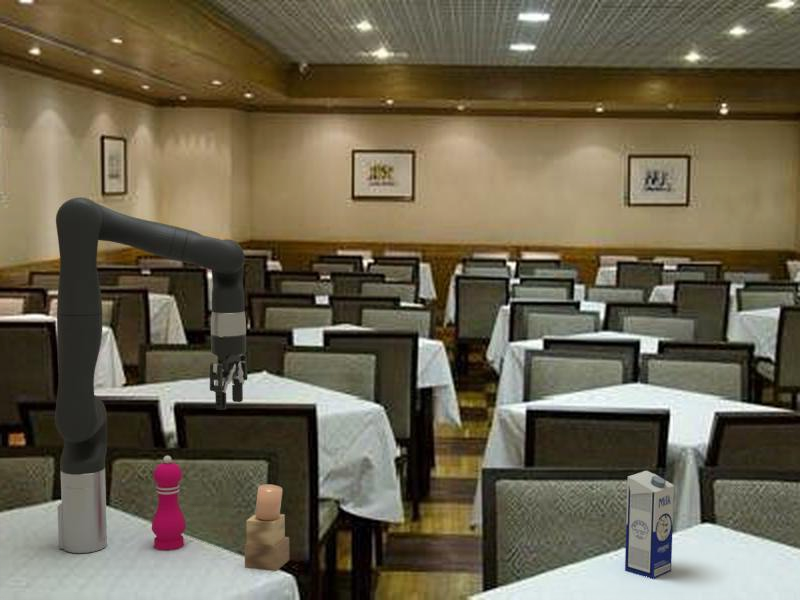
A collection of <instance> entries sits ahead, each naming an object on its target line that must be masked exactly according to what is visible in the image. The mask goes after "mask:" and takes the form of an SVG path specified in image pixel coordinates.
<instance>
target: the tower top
mask: <svg viewBox="0 0 800 600" xmlns="http://www.w3.org/2000/svg"><path fill="white" fill-rule="evenodd" d="M285 518H286V517H285V514H284V513H280V516H279V519H277V520H262V519H259V518H257V517H256V516H255V514H253V515H252V516H250V517H249V518H248V519H246V521H245V522H246V525H245V526H246V543H247V544H251V545H261V546H270V547H274V546H275V545H277V544H278V543H279V542H280V541H281V540H283V539H284V538H285V537H286V533H285V532H286V522H285V521H286V519H285Z"/></svg>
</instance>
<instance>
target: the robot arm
mask: <svg viewBox="0 0 800 600" xmlns="http://www.w3.org/2000/svg"><path fill="white" fill-rule="evenodd" d="M55 224H56V225H55V226H56V234H57V241H58V252H59V277H58V278H59V279H58V288H57V301H56V302H57V304H56V305H57V306H56V331H57V332H56V334H57V362H58V363H57V365H58V385H57V396H56V406H55V413H54V414H55V415H54V423H55V427H56V429H57V433H58V434H59V435H60V436H61V438H63V442H64V443H63V449H62V453H61V456H60V461H59V464H60V466H59V468H60V492H61V493H60V495H61V503H60V504H58V505H57V529H58V533H57V534H58V549H61V550H64V551H65V552H68V553H74V554H85V553H86V554H88V553H94V552H98V551H100V550H102V549H105V547H107V545H108V543H107V542H108V540H107V539H108V533H107V531H108V530H107V529H108V527H107V525H108V524H107V498H106V497H107V493H106V491H107V487H106V456H107V450H108V415H107V414H108V413H107V408H106V406H105V404H104V402H103V401H102V400H101V399H100V397H98V395H95V387H94V386H95V371H96V367H97V363H98V357H99V354H100V350H101V345H102V337H103V301H102V293H101V287H100V280H99V275H98V268H97V267H98V265H97V261H98V249H99V248H98V246H99V241H102V242H103V241H104V242H111V243H117V244H122V245H125V246H127V247H128V246H129V247H130V248H131V247H132V248H134V249H137V250H141V251H142V252H146V253H148V254H152V255H155V256H158V257H161V258H164V259H169V260H173V261H177V262H181V263H185V264H191V265H192V264H193V265H196V266H198V267H201V268H203V269H207V270H210V271H211V279H212V290H211V317H210V318H211V319H210V345H211V346H210V351H211V354H212V355H214V356H216V357H217V360H216V362H210V365H209V391H211V392H214V393H215V394H214V395H215V410H218V411H224V410H227V390H228V385H230V384H231V383H232V385H231V393H232V394H231V395H232V396H231V398H232V400H231V401H232V402H234V403H241V402H243V399H244V396H243V393H244V391H243V390H244V387H243V385H244V384H245V381H247V380H248V376H249V375H248V357H247V356H248V355H247V354H246V352H247V321H246V320H247V319H246V311H245V309H246V307H245V290H244V286H243V285H244V284H243V281H244V280H243V278H244V277H243V275H244V273H243V272H244V264H245V258H246V257H245V252H244V250H243V248H242V247H241V245H240V244H239V243H238V242H237V241H235V240H233V239H228V238H226V239H222V238H215V237H212V236H207V235H203V234H201V233H199V232H196V231H194V230H192V229H191V230H190V229H186V228H183V227H179V226H174V225H172V224H166V223H162V222H157V221H152V220H147V219H142V218H139V217H138V218H137V217H134V216H130V215H127V214H125V213H124V214H123V213H121V212H118V211H115V210H113V209H110V208H108V207H106V206H104V205H101V204H99V203H97V202H95V201H93V200H92V199H90V198H87V197H81V196H80V197H74V198H70V199H69V200H66V201H65V202H63V203H62V204H61V206H59V208H58V210H57V212H56V216H55Z"/></svg>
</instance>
